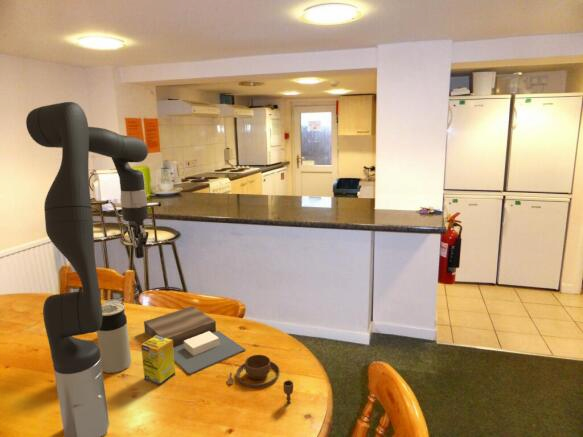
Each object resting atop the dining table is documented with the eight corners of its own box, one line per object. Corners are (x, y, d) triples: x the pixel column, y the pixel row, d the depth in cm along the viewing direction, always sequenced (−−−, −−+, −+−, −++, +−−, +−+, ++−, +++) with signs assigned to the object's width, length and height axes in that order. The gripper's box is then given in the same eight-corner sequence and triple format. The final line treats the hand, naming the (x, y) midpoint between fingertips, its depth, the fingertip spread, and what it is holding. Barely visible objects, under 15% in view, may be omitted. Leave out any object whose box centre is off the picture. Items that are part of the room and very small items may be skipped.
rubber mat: (245, 350, 127) (245, 349, 127) (189, 375, 115) (189, 373, 115) (218, 331, 139) (218, 330, 138) (164, 352, 126) (164, 350, 126)
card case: (209, 331, 133) (209, 338, 134) (183, 340, 127) (184, 348, 128) (219, 337, 129) (219, 345, 129) (193, 348, 123) (193, 355, 123)
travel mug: (108, 377, 114) (101, 317, 110) (97, 366, 120) (89, 309, 116) (136, 365, 120) (130, 308, 116) (124, 355, 125) (117, 300, 121)
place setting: (287, 362, 121) (287, 344, 120) (297, 407, 102) (296, 386, 101) (227, 367, 119) (226, 348, 118) (225, 414, 100) (224, 392, 98)
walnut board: (216, 331, 139) (215, 320, 138) (165, 351, 127) (164, 339, 126) (193, 316, 150) (192, 305, 150) (144, 332, 139) (143, 321, 138)
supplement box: (144, 380, 113) (140, 344, 110) (160, 369, 118) (157, 334, 115) (160, 386, 110) (156, 349, 107) (175, 374, 115) (173, 339, 113)
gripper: (114, 203, 130) (120, 255, 134) (130, 208, 120) (135, 265, 124) (138, 200, 135) (143, 250, 139) (154, 205, 125) (159, 259, 129)
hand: (139, 257), depth 131 cm, fingers closed
